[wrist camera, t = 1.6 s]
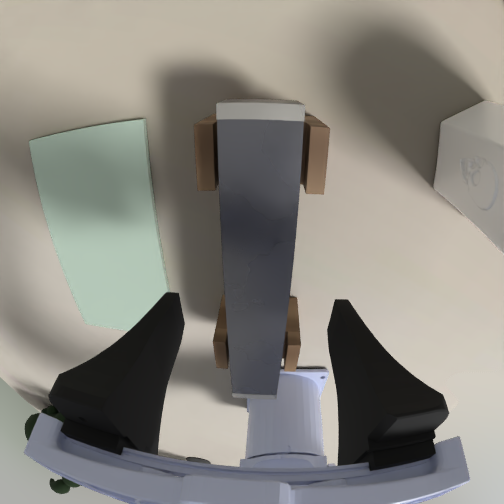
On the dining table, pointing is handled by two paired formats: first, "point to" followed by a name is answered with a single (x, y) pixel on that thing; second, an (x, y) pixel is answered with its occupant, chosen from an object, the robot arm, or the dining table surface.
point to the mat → (103, 219)
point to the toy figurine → (57, 486)
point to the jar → (474, 167)
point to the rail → (258, 233)
